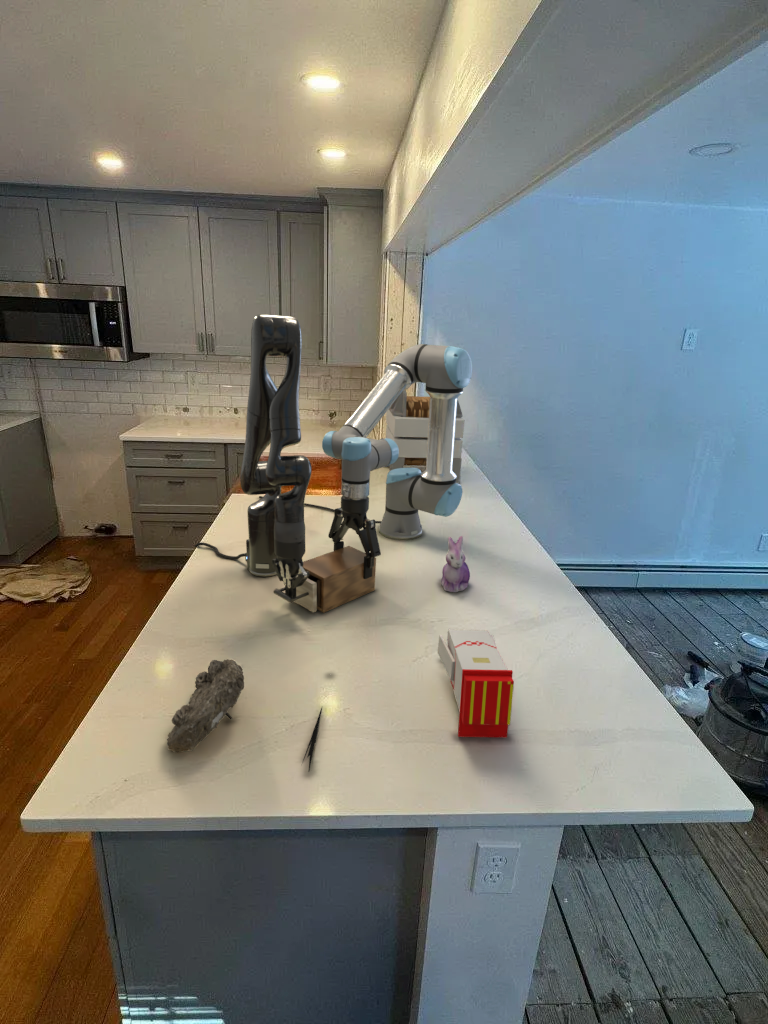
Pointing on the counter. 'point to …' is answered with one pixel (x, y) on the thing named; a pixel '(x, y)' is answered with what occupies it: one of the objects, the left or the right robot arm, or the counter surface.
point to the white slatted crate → (417, 432)
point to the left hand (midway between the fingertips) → (290, 598)
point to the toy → (478, 682)
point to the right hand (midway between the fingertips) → (352, 570)
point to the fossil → (206, 705)
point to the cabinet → (340, 576)
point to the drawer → (305, 594)
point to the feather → (313, 740)
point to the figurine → (455, 568)
